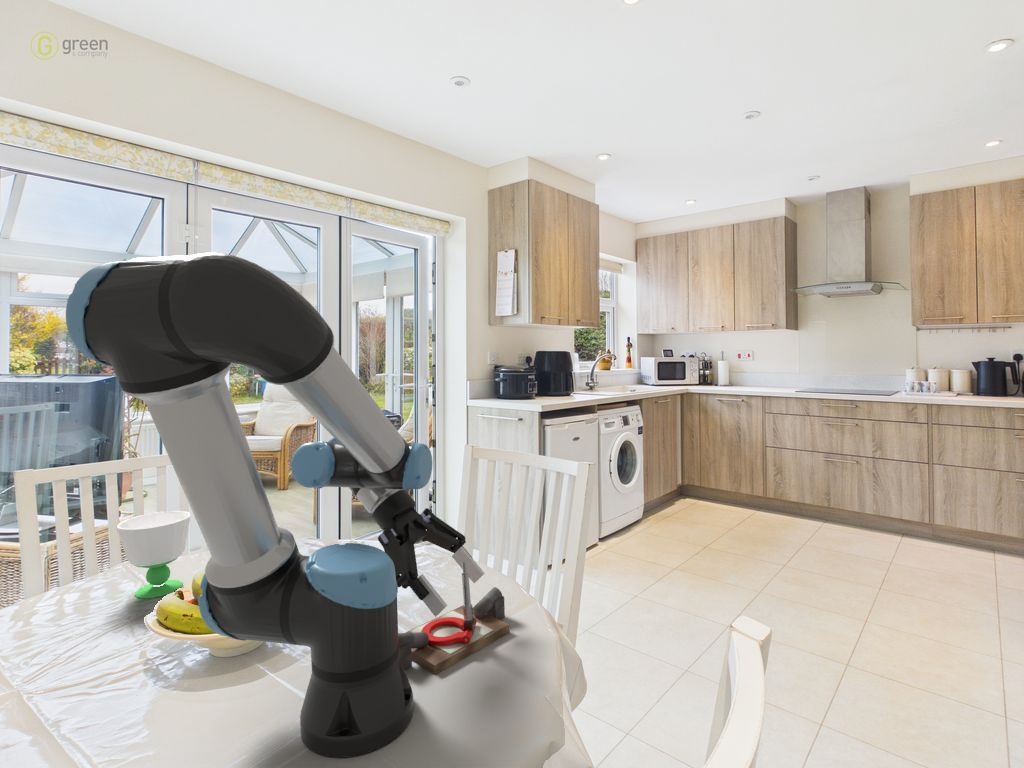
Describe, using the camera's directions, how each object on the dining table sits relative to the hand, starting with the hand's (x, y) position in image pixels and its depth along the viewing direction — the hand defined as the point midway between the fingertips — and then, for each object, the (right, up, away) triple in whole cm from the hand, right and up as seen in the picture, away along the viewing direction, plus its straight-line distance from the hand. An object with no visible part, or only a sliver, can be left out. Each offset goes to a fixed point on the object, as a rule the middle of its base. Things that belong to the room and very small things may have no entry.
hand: (461, 594), depth 94 cm
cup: (-70, -9, +26) cm, 75 cm away
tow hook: (-2, -7, 0) cm, 8 cm away
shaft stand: (-2, -9, +1) cm, 9 cm away
